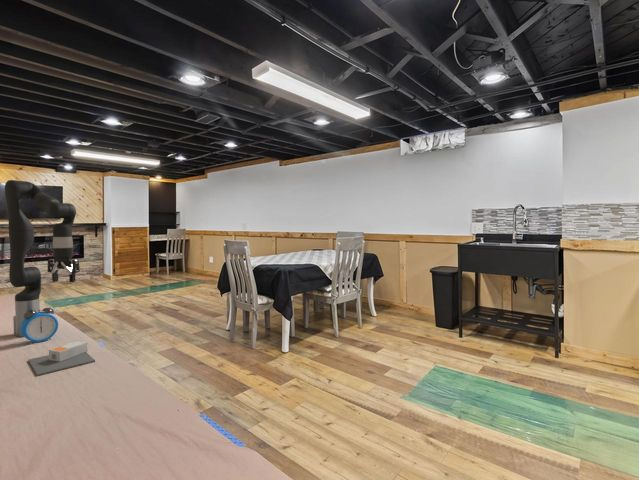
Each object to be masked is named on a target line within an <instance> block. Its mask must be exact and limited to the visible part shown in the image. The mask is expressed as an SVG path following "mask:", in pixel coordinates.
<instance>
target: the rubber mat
mask: <svg viewBox="0 0 639 480" xmlns="http://www.w3.org/2000/svg"><path fill="white" fill-rule="evenodd" d="M95 362H96V360H95V358H93V357H92V356H91V355H90V354H89V353H88V351H87V352H85V353H82V354H80V355H77V356H74V357H71V358H69V359H66V360H63V361H61V362H58V361H52V360H49V354H47V355H42V356H39V357H34V358H29V359H28V363H29V364H30V366H31V368H32V369H33V372H34V373H35V375H36V377H39V376H43V375H48V374H51V373H55V372H60V371H64V370H69V369H71V368H76V367H80V366H85V365H88V364H92V363H95Z"/></svg>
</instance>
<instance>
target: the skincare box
mask: <svg viewBox="0 0 639 480" xmlns="http://www.w3.org/2000/svg"><path fill="white" fill-rule="evenodd" d="M88 345H89V343H88V342H87V341H82V340H76V341H75V340H74V341H72V342H69V343H67V344H64V345H63V344H62V345H60V346H57V347H54V348H51V349H48V355H49V360H52V361H58V362H61V361H63V360H66V359H69V358H71V357H74V356H77V355H80V354H82V353H85V352H87V353H88V352H89V350H88V349H89V347H88Z"/></svg>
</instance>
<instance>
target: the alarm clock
mask: <svg viewBox="0 0 639 480" xmlns="http://www.w3.org/2000/svg"><path fill="white" fill-rule="evenodd" d="M38 311H40V312H36V311H35V310H29V311H27V312H26V313H25V314H24V315H23V317H24V320H23V321H22V323H21V326H20V332H21V334H22V335H23V336H24V338H25V339H27V340H28V341H30V342H31V344H34V343H41V342H45V341H48V340H51V338H53V336H55V334H56V333H57V332H58V328H59V321H58V319H57V317H56V316H54V314H55V310H54V309H53V308H51V307H44V308H43V309H42V310H41V309H40V310H38Z"/></svg>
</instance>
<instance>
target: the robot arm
mask: <svg viewBox="0 0 639 480" xmlns="http://www.w3.org/2000/svg"><path fill="white" fill-rule="evenodd" d="M4 184H5V185H4V195H5V196H4V197H5V202H6V209H7V219H8V240H9V255H10V256H9V267H8V268H9V269H8V270H9V271H8V272H9V273H8V279H9V282H10V285H11V286H12V287H13V288H21V287H22V288H23V287H24V288H23V290H21V291H19V292H18V293H16V294H15V295H14V311H15V315H14V316H12V317H13V318H12V319H13V320H12V321H13V336H14V337H20V338H21V337H22V338H23V337H24V336H23V335H22V334H21V332H20V326H21V323H22V321H23V320H24V317H23V315H24V314H25V313H26V312H27V311H29V310H35V311H36V312H41V311H38V310H41V309H40V308H41V307H40V295H41V292H42V273H41V271H40V269H39V268H38V267H36V266H25V258H26V256H27V254H28V252H29V250H30V249H31V248H32V246H33V244H34V241H35V232H34V231H35V229H34V226H33V224H32V222H31V221H30V220H29V218H28V217H27V216H26V215H25V214H24V212H23V211H22V209H21V206H20V201H33V203H34V204H35V206H36V207H37V208H39V209H41V210H42V211H44V212H45V213H46V215H47V216H48V217H50V218H53V219H62V221H61V222H60V223H55V224H53V226H52V257H53V258H49V259H48V260H47V272H48V273H50V274H51V280H52V282H53V283H56V282H59V271H60V270H65V271H67V272H68V273H69V275H68V276H69V277H68V278H69V279H68V280H69V281H68V282H69V283H75V281H76V274H78V273H80V260H79V259H73V257H74V241H73V240H74V239H73V225H74V222H75V218H76V215H77V209H76V207H75V205H74V204H72V203H68V202H60V201H59V200H58V199H57V198H55V197H53V196H50V195H49V194H47V193H45V192H44V191H43V190H41V188H40V187H38V186H37V185H35V183H32V182H31V181H26V180H25V181H24V180H14V179H9V180H7V181H6V182H5V183H4ZM24 338H25V337H24Z"/></svg>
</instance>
